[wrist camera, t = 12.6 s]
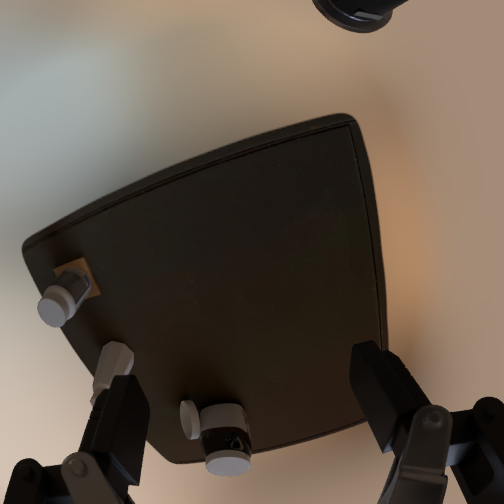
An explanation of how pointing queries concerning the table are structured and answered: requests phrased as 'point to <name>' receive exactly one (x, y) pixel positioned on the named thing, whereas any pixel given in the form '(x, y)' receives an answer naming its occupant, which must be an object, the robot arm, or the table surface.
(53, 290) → the pill bottle
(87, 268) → the coaster
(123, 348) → the pepper shaker
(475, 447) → the robot arm
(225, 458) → the spread jar
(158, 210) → the table surface
